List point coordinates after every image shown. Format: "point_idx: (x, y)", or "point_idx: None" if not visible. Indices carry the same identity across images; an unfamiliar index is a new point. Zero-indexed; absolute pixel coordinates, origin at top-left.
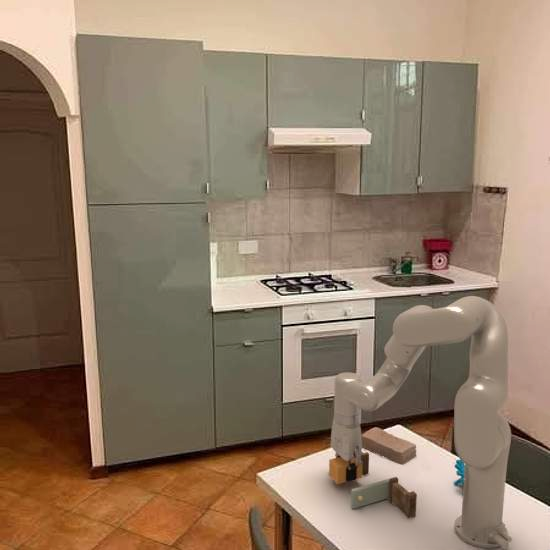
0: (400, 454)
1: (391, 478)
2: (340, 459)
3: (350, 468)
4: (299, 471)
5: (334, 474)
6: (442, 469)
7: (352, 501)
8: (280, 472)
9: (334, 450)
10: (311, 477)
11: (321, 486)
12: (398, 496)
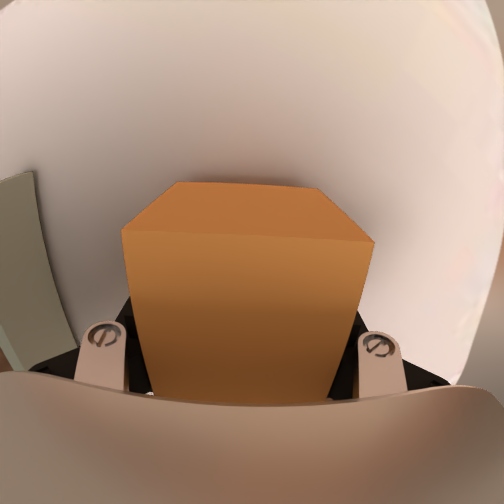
0: None
1: None
2: (293, 353)
3: (88, 340)
4: (468, 107)
5: (224, 195)
6: None
7: (1, 180)
8: (484, 37)
9: (387, 401)
10: (401, 117)
11: (286, 106)
12: (4, 361)
